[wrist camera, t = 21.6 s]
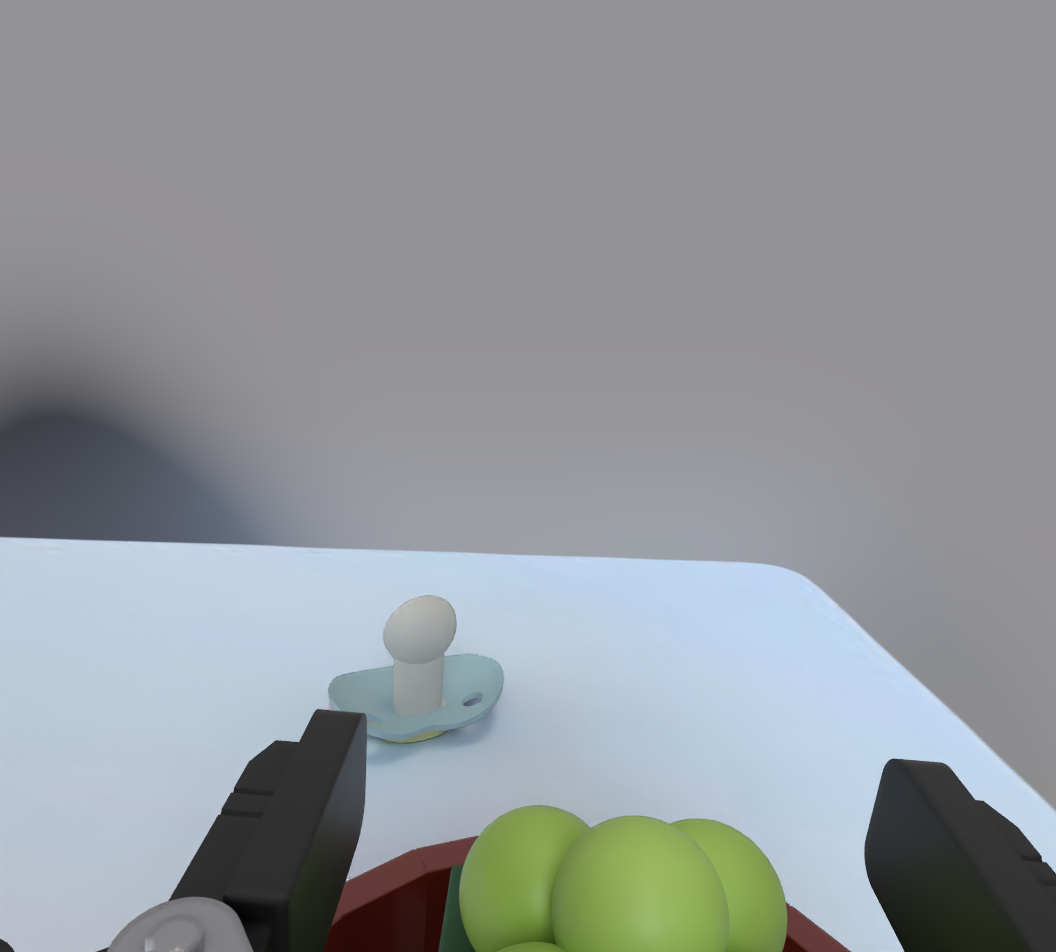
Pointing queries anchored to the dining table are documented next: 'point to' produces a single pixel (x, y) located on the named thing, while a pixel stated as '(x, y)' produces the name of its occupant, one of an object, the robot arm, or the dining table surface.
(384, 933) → the pot
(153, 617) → the dining table surface
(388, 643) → the pacifier
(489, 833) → the grapes
